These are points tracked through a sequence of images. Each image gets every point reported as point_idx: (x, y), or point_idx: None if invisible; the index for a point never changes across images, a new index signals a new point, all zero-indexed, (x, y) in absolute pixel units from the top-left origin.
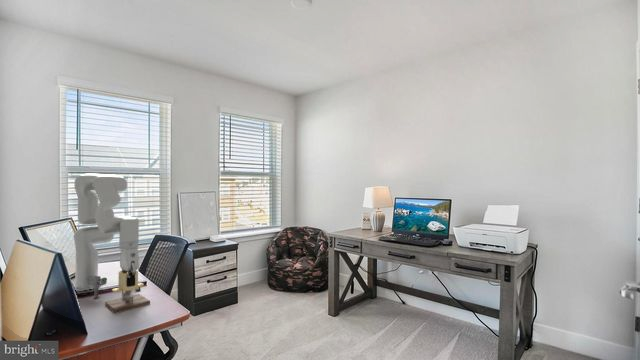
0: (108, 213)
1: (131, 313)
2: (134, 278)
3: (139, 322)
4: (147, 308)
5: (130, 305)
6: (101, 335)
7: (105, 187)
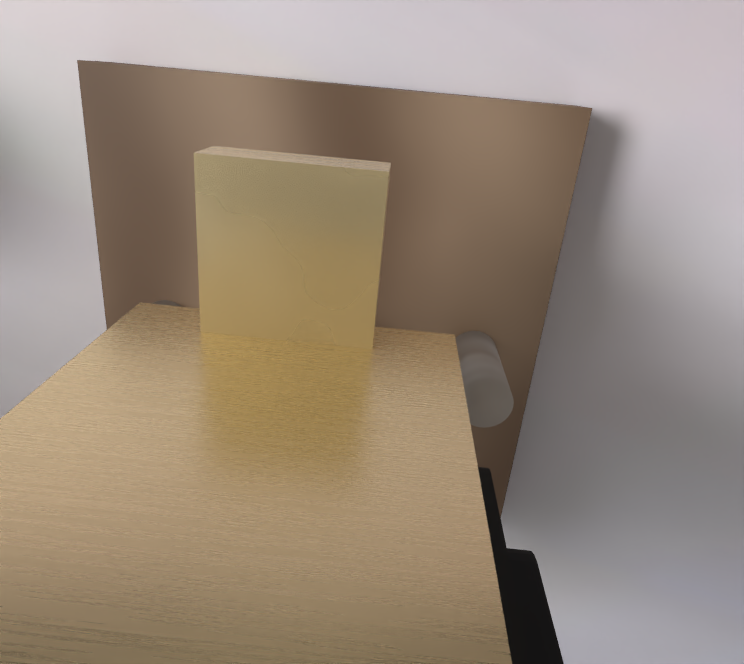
0: None
1: (668, 417)
2: (512, 640)
3: None
4: (711, 222)
5: (521, 385)
6: None
7: None
